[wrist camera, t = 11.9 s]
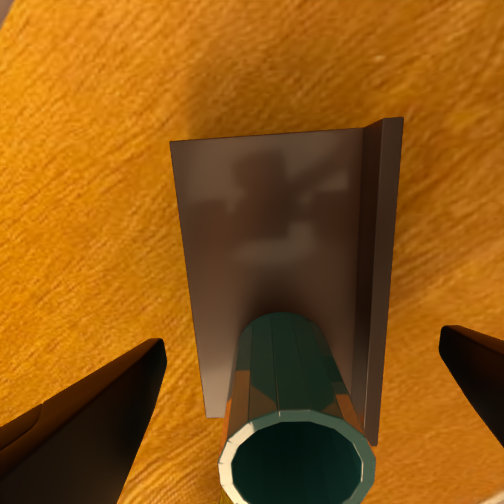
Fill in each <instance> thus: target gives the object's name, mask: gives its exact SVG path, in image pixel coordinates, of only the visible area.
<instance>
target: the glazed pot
mask: <svg viewBox="0 0 504 504" xmlns="http://www.w3.org/2000/svg"><path fill="white" fill-rule="evenodd" d="M375 467H376V457H375V455H374V452H373V450H372V447H371V445H370V442H369V440H368V438H367V435H366V433H365V430H364V428H363V425H362V423H361V421H360V418H359V416H358V413H357V411H356V408H355V406H354V403H353V401H352V399H351V396H350V394H349V391H348V389H347V386H346V384H345V382H344V379H343V377H342V374H341V372H340V369H339V367H338V365H337V362H336V360H335V357H334V355H333V352H332V350H331V348H330V346H329V343H328V341H327V339H326V336H325V335H324V333H323V331H322V330H321V329H320V328H319V327H318V326H317V325H316V324H315V323H314V322H313V321H311V320H310V319H308V318H306V317H304V316H302V315H299V314H295V313H290V312H274V313H269V314H266V315H263V316H261V317H259V318H257V319H255V320H254V321H252V322H251V323H250V324H248V325H247V326H246V327H245V329H244V330H243V331H242V332H241V334H240V336H239V338H238V340H237V343H236V348H235V351H234V356H233V363H232V369H231V376H230V383H229V389H228V396H227V403H226V409H225V416H224V423H223V430H222V436H221V443H220V450H219V456H218V470H219V478H220V484H221V486H222V488H223V489H224V490H225V492H226V493H227V495H228V496H229V498H230V499H231V501H232V502H233V503H234V504H360V503H361V502H362V501H363V500H364V498H365V496H366V495H367V493H368V492H369V490H370V489H371V487H372V486H373V484H374V479H375Z"/></svg>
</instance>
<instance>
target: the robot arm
mask: <svg viewBox="0 0 504 504" xmlns="http://www.w3.org/2000/svg"><path fill="white" fill-rule="evenodd" d="M439 354H440V356H441V358H442V359H443V361H444V363H445V364H446V366H447V368H448V369H449V371H450V372H451V374H452V376H453V377H454V379H455V380H456V382H457V384H458V385H459V387H460V388H461V390H462V392H463V393H464V395H465V396H466V398H467V399H468V401H469V402H470V404H471V405H472V406H473V408H474V409H475V411H476V412H477V413H478V415H479V416H480V417H481V419H482V420H483V421H484V423H485V424H486V425H487V426H488V428H489V429H490V430H491V432H492V433H493V434H494V436H495V437H496V438H497V440H498V441H499V442H500V444H501V445H502V446H503V448H504V341H503V340H500V339H497V338H494V337H491V336H488V335H485V334H482V333H479V332H477V331H474V330H471V329H468V328H465V327H462V326H459V325H446V326H443V327H442V329H441V334H440V341H439ZM166 367H167V357H166V352H165V346H164V341H163V339H161V338H151V339H148V340H146V341H145V342H143V343H141V344H140V345H138V346H136V347H135V348H133V349H131V350H130V351H128V352H126V353H125V354H123V355H121V356H120V357H118V358H116V359H115V360H113V361H111V362H110V363H108V364H106V365H105V366H103V367H101V368H100V369H98V370H96V371H95V372H93V373H91V374H90V375H88V376H86V377H85V378H83V379H81V380H80V381H78V382H76V383H74V384H73V385H71V386H69V387H68V388H66V389H64V390H63V391H61V392H59V393H58V394H56V395H54V396H53V397H51V398H49V399H48V400H46V401H44V402H43V404H39V405H37V406H36V407H34V408H32V409H31V410H29V411H28V412H26V413H24V414H22V415H21V416H19V417H17V418H16V419H14V420H12V421H10V422H9V423H7V424H5V425H3V426H2V427H0V504H117V501H118V499H119V496H120V494H121V491H122V489H123V486H124V484H125V481H126V479H127V476H128V474H129V472H130V469H131V467H132V464H133V462H134V459H135V457H136V454H137V452H138V449H139V447H140V444H141V442H142V439H143V437H144V434H145V432H146V429H147V427H148V424H149V422H150V419H151V417H152V414H153V411H154V408H155V405H156V402H157V398H158V395H159V391H160V388H161V384H162V381H163V377H164V374H165V370H166Z"/></svg>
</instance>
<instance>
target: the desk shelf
mask: <svg viewBox="0 0 504 504" xmlns="http://www.w3.org/2000/svg"><path fill="white" fill-rule="evenodd" d="M403 121H404V117H392V118H383V119H381V120H379V121H377V122H375V123H372V124H370V125H368V126H366V127H364V128H349V129H335V130H321V131H307V132H293V133H279V134H265V135H251V136H236V137H222V138H208V139H194V140H180V141H170V151H171V158H172V166H173V173H174V181H175V188H176V196H177V203H178V211H179V218H180V226H181V233H182V241H183V248H184V256H185V263H186V271H187V278H188V285H189V293H190V300H191V308H192V315H193V323H194V330H195V338H196V345H197V353H198V360H199V368H200V375H201V383H202V390H203V398H204V405H205V413H206V418H224V416H225V409H226V403H227V396H228V389H229V383H230V376H231V369H232V363H233V356H234V351H235V348H236V343H237V340H238V338H239V336H240V334H241V332H242V331H243V330H244V329H245V327H246V326H247V325H248V324H250V323H251V322H252V321H254V320H255V319H257V318H259V317H261V316H263V315H266V314H269V313H274V312H290V313H295V314H299V315H302V316H304V317H306V318H308V319H310V320H311V321H313V322H314V323H315V324H316V325H317V326H318V327H319V328H320V329H321V330H322V331H323V333H324V335H325V336H326V339H327V341H328V343H329V346H330V348H331V350H332V352H333V355H334V357H335V360H336V362H337V365H338V367H339V369H340V372H341V374H342V377H343V379H344V382H345V384H346V386H347V389H348V391H349V394H350V396H351V399H352V401H353V403H354V406H355V408H356V411H357V413H358V416H359V418H360V421H361V423H362V425H363V428H364V430H365V433H366V435H367V438H368V440H369V442H370V445H371V446H377V444H378V432H379V419H380V407H381V394H382V382H383V370H384V357H385V345H386V332H387V320H388V308H389V295H390V283H391V270H392V258H393V246H394V233H395V221H396V208H397V196H398V184H399V171H400V159H401V146H402V134H403Z"/></svg>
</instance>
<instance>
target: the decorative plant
mask: <svg viewBox="0 0 504 504" xmlns="http://www.w3.org/2000/svg"><path fill="white" fill-rule="evenodd" d="M213 504H216V503H215V501H213ZM219 504H234V503H233V502H232V501H231V499H230V498H229V496H228V498H227V497H226V495H225V492H224V490H223V488H222V487H221V499H220V500H219Z"/></svg>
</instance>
